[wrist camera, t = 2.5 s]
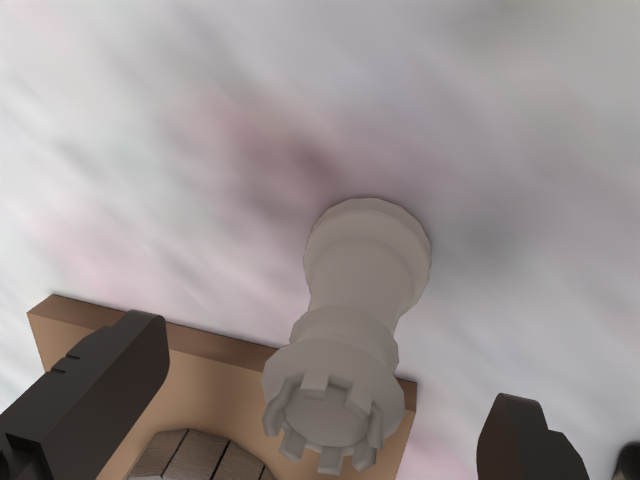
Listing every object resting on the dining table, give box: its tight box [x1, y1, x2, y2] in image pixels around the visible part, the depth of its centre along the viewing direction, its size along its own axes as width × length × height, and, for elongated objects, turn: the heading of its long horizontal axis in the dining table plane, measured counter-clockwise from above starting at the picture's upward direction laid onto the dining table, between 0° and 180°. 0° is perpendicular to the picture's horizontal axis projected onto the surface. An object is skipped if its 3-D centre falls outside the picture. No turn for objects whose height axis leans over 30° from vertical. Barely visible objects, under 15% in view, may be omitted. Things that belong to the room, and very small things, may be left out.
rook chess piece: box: [261, 198, 431, 476], centre depth 12 cm, size 4×4×8 cm
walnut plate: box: [27, 295, 417, 480], centre depth 23 cm, size 18×18×2 cm
